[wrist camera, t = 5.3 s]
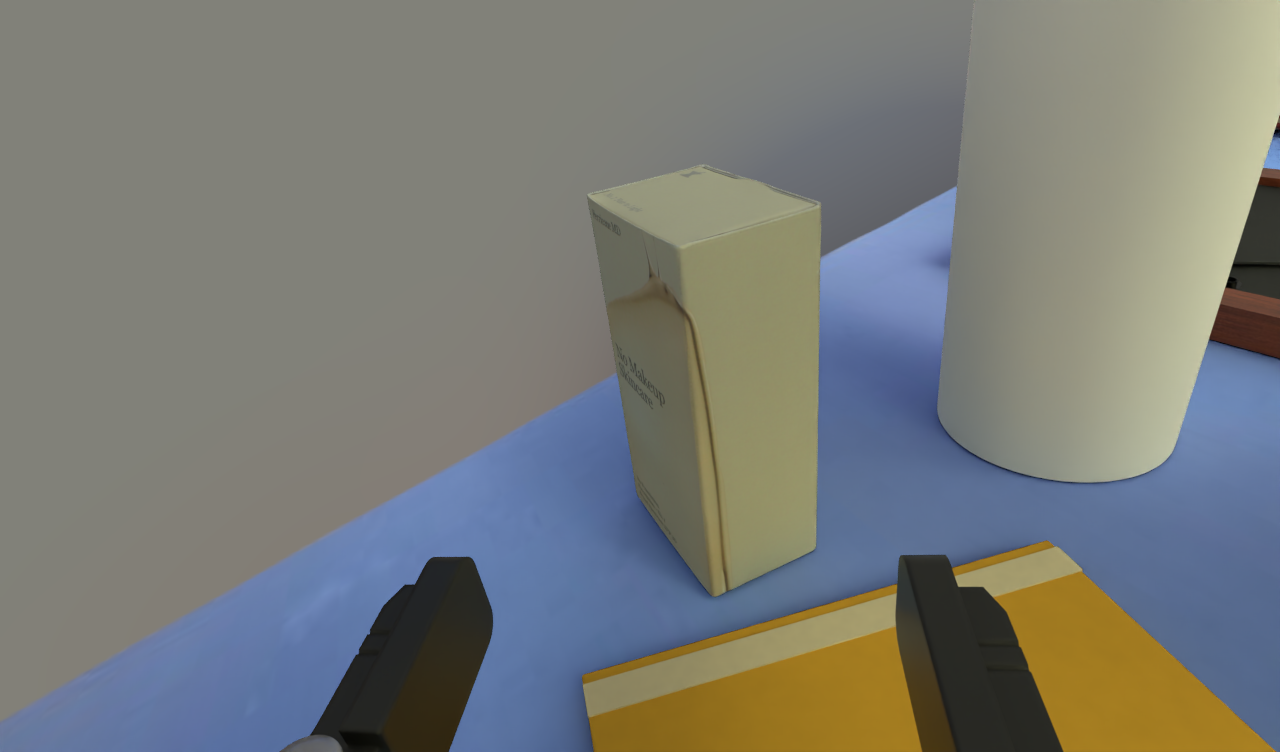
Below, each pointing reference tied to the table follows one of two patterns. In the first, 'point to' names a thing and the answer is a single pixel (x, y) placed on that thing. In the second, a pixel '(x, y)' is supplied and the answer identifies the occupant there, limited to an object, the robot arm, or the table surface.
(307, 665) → the table surface
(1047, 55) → the cup
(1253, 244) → the picture frame
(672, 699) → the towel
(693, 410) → the cosmetic box
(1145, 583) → the table surface
